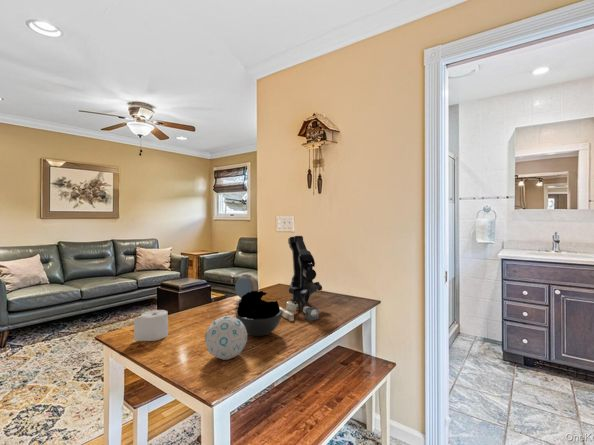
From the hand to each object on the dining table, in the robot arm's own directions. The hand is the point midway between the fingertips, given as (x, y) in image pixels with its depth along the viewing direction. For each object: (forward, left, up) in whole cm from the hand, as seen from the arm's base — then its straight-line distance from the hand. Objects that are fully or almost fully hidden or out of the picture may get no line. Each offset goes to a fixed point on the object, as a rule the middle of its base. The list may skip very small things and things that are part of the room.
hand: (305, 304), depth 168 cm
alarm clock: (-28, -23, -3) cm, 37 cm away
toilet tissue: (-4, -76, -3) cm, 76 cm away
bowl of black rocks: (+18, -36, -3) cm, 41 cm away
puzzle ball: (+31, -55, -3) cm, 64 cm away
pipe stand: (+13, -6, -3) cm, 15 cm away
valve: (+1, -8, -3) cm, 9 cm away
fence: (+2, -15, -3) cm, 16 cm away
